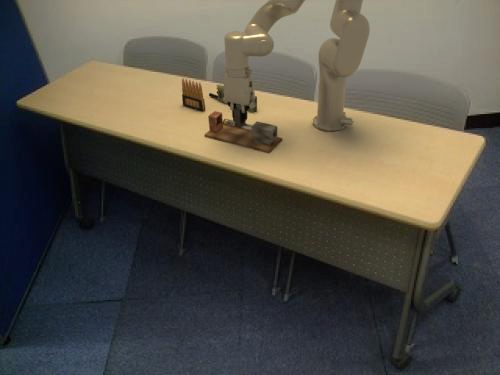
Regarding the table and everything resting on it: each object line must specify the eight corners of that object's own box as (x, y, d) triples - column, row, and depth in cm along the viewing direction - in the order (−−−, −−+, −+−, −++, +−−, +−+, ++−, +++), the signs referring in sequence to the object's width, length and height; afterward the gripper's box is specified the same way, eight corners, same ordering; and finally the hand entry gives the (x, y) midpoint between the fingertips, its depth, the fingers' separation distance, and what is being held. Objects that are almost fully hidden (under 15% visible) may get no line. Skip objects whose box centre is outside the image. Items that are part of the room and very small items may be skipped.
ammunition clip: (205, 110, 192) (203, 82, 185) (202, 112, 191) (200, 83, 184) (185, 104, 197) (182, 76, 190) (182, 105, 196) (179, 78, 189)
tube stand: (282, 140, 170) (282, 122, 166) (269, 153, 163) (269, 135, 159) (219, 125, 181) (217, 107, 177) (204, 136, 174) (203, 119, 170)
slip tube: (275, 134, 166) (275, 112, 162) (270, 138, 164) (270, 117, 159) (227, 122, 174) (226, 102, 170) (222, 127, 172) (220, 106, 167)
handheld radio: (253, 114, 188) (206, 98, 201) (258, 111, 190) (212, 96, 203) (253, 98, 185) (206, 83, 198) (258, 95, 187) (211, 81, 200)
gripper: (264, 70, 157) (265, 120, 168) (222, 63, 164) (225, 111, 174) (253, 78, 152) (255, 130, 163) (211, 70, 158) (214, 120, 169)
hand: (239, 120), depth 168 cm, fingers closed on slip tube, 2 cm apart
